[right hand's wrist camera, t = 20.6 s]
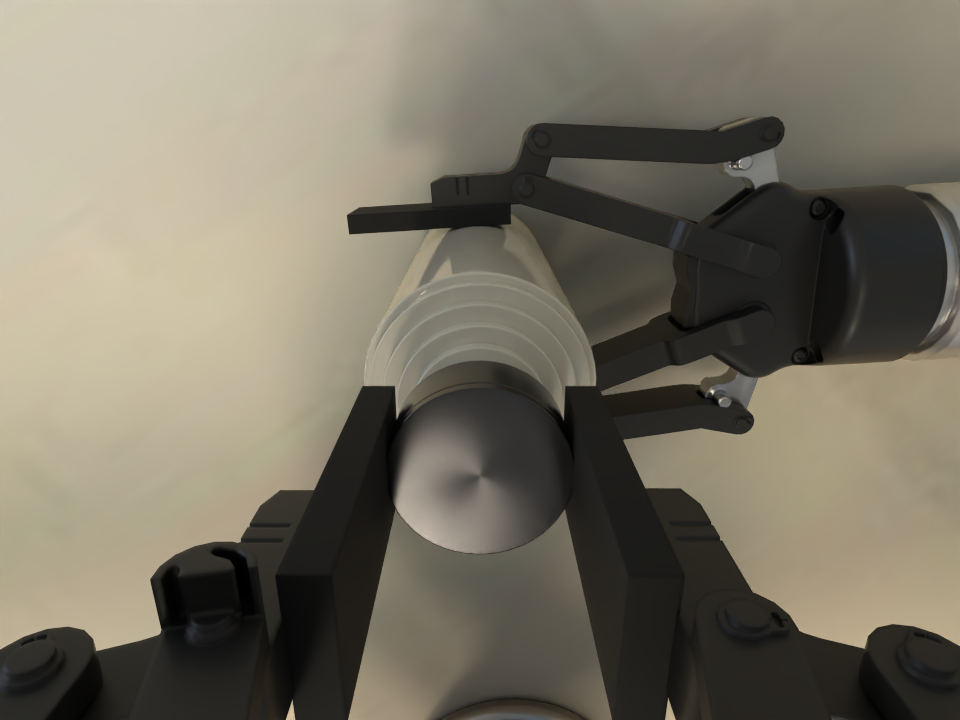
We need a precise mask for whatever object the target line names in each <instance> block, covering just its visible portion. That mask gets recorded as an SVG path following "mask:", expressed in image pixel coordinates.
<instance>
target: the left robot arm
mask: <svg viewBox="0 0 960 720" xmlns="http://www.w3.org/2000/svg"><path fill="white" fill-rule="evenodd" d="M784 129H785V128H784V125H783V122H782V121H781V120H780V119H779V118H776V117H773V116H772V117H753V118H742V119H738V120H735V121H732V122H729V123H726V124H723V125H720V126H717V127H714V128H711V129H708V130H704V131H703V130H681V129H659V128H638V127H616V126H594V125H572V124H550V123H541V124H535V125H531V126H530V127H528V128H527V129H526V131H525V132H524V135H523V140H522V143H521V146H520V150H519V153H518V156H517V159H516V161H515V163H514V164H513V166H512V167H510V168H509V169H508V170H506V171H502V172H492V173H476V174H460V175H445V176H442V177H440V178H438V179H436V180H434V181H433V182H432V183H431V194H432V203H424V204H408V205H391V206H375V207H359V208H358V209H356V210H355V211H353V212H351V213H350V214H348V215H347V220H348V228H349V234H362V233H378V232H395V231H411V230H427V229H444V228H460V227H473V226H493V225H509V224H511V207H510V204H523V205H526V206H529V207H533V208H536V209H539V210H543V211H546V212H549V213H553V214H556V215H559V216H563V217H566V218H569V219H573V220H576V221H579V222H583V223H586V224H590V225H593V226H596V227H600V228H603V229H606V230H610V231H613V232H616V233H620V234H623V235H626V236H630V237H633V238H636V239H640V240H643V241H646V242H650V243H653V244H656V245H660V246H663V247H666V248H669V249H671V250H674V253H673V267H674V271H675V276H676V280H677V282H676V286H675V289H674V292H673V295H672V298H671V311H670V312H667V313H665V314H662V315H660V316H657V317H655V318H653V319H652V320H650V322H649V323H648V324H647V325H645V326H642V327H640V328H637V329H635V330H632V331H630V332H627V333H624V334H622V335H619V336H617V337H614V338H612V339H609V340H607V341H604V342H602V343H599V344H597V345H594V346H591V349H592V353H593V357H594V361H595V368H596V386H598V388H599V390H600V391H603V390H605V389H608V388H611V387H613V386H616V385H619V384H621V383H624V382H626V381H629V380H632V379H634V378H637V377H639V376H642V375H645V374H647V373H650V372H653V371H655V370H658V369H660V368H663V367H666V366H669V365H678V366H679V365H684V364H688V363H690V362H693V361H696V360H698V359H701V358H703V357H706V356H709V355H713V356H714V357H716V358H717V359H719V360H720V361H722V362H723V363H725V364H726V365H728V366H729V367H730V368H729V370H728V371H727V372H726V373H725V374H723V375H721V376H717V377H706V378H704V379H702V381H701V385H693V384H682V385H672V386H665V387H659V388H652V389H645V390H639V391H632V392H625V393H619V394H612V395H605V396H603V398H604V401H605V403H606V405H607V407H608V409H609V411H610V414H611V416H612V418H613V420H614V422H615V424H616V426H617V429H618V431H619V433H620V435H621V437H622V439H623V440H624V439H631V438H638V437H644V436H651V435H658V434H665V433H672V432H679V431H685V430H692V429H699V428H703V429H709V430H715V431H720V432H726V433H732V434H744V433H746V432H748V431H749V430H750V429H751V428H752V426H753V424H754V418H753V415H752V414H751V413H750V412H749V411H748V410H747V406H748V404H749V401H750V398H751V396H752V393H753V390H754V388H755V385H756V382H757V379H758V378H760V377H765V376H767V375H770V374H771V373H773V372H775V371H777V370H779V369H781V368H784V367H787V366H791V365H836V364H853V363H871V362H887V361H894V360H898V359H900V358H903V359H908V360H913V361H914V360H929V359H944V358H959V357H960V182H948V183H930V184H912V185H910V186H907V187H905V188H903V187H899V186H891V185H887V186H871V187H855V188H839V189H823V190H807V191H800V190H797V189H795V188H793V187H791V186H790V185H788V184H785V183H782V182H779V177H778V170H777V162H776V155H775V148H774V147H776V146H777V145H778V144H779V143H780V142H781V141H782V139H783V136H784ZM551 157H565V158H587V159H610V160H632V161H654V162H676V163H699V164H715V166H716V169H717V170H718V172H719V173H721V174H722V175H725V176H730V177H740V178H741V179H743V181H744V182H745V185H746V187H745V188H744V189H743V190H741V191H740V192H739V193H737V194H736V195H735V196H733V197H732V198H731V199H729V200H728V201H727V202H725V203H724V204H723V205H721V206H720V207H719V208H718V209H716V210H715V211H714V212H712V213H711V214H710V215H708V216H707V217H706V218H704V219H703V220H702V221H700V222H695V221H692V220H689V219H685V218H682V217H679V216H676V215H672V214H669V213H666V212H661V211H658V210H655V209H651V208H648V207H645V206H642V205H638V204H635V203H632V202H628V201H625V200H622V199H619V198H615V197H612V196H609V195H606V194H602V193H599V192H596V191H592V190H589V189H586V188H583V187H579V186H576V185H573V184H569V183H566V182H563V181H560V180H556V179H553V178H550V177H547V176H546V173H547V169H548V166H549V163H550V160H551ZM441 720H584V719H582V718H581V717H579V716H577V715H576V714H574V713H572V712H570V711H568V710H565V709H563V708H560V707H558V706H554V705H551V704H547V703H543V702H538V701H531V700H519V699H506V700H495V701H488V702H483V703H479V704H475V705H472V706H468V707H465V708H463V709H460V710H458V711H456V712H454V713H452V714H450V715H448V716H446V717H445V718H443V719H441Z"/></svg>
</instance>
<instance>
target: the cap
mask: <svg viewBox="0 0 960 720" xmlns="http://www.w3.org/2000/svg"><path fill="white" fill-rule="evenodd" d="M386 459H387V477H388V493H389V496H390V498H391V501H392V503H393V505H394V507H395V509H396V510H397V512H398V514H399V515H400V516H401V518H402V519H403V520H404V521H405V523H406V524H407V525H408V526H409V527H410V528H411V529H413V530H414V531H415V532H416V533H417V534H419V535H420V536H421V537H423V538H425V539H426V540H428V541H430V542H431V543H433V544H436V545H438V546H440V547H443V548H446V549H449V550H452V551H456V552H461V553H468V554H492V553H499V552H504V551H508V550H512V549H514V548H517V547H520V546H522V545H524V544H526V543H528V542H530V541H532V540H534V539H535V538H537V537H538V536H540V535H541V534H543V533H544V532H545V531H546V530H547V529H549V528H550V527H551V526H552V525H553V524H554V522H555V521H556V520H557V519H558V518H559V516H560V515H561V513H562V512H563V510H564V509H565V507H566V505H567V503H568V501H569V499H570V496H571V493H572V484H573V467H574V455H573V452H572V448H571V445H570V441H569V438H568V435H567V431H566V428H565V424H564V421H563V417H562V414H561V411H560V409H559V407H558V405H557V403H556V401H555V400H554V398H553V397H552V395H551V394H550V393H549V391H548V390H547V389H546V388H545V387H544V386H543V385H542V384H541V383H540V382H539V381H538V380H536V379H535V378H534V377H532V376H531V375H529V374H528V373H526V372H524V371H522V370H520V369H518V368H516V367H513V366H510V365H507V364H504V363H499V362H494V361H483V360H482V361H467V362H461V363H457V364H453V365H450V366H447V367H445V368H442V369H440V370H438V371H436V372H434V373H433V374H431V375H429V376H428V377H426V378H425V379H424V380H423V381H421V382H420V383H419V384H418V385H417V386H416V387H415V388H414V389H413V390H412V391H411V393H410V394H409V395H408V397H407V398H406V399H405V401H404V403H403V405H402V407H401V409H400V411H399V414H398V417H397V420H396V424H395V427H394V431H393V434H392V437H391V441H390V445H389V448H388V451H387V458H386Z"/></svg>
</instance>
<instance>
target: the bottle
mask: <svg viewBox="0 0 960 720" xmlns="http://www.w3.org/2000/svg"><path fill="white" fill-rule="evenodd" d="M482 360H483V361H494V362H499V363H504V364H507V365H510V366H513V367H516V368H518V369H520V370H522V371H524V372H526V373H528V374H529V375H531V376H532V377H534V378H535V379H536V380H538V381H539V382H540V383H541V384H542V385H543V386H544V387H545V388H546V389H547V390H548V391H549V393H550V394H551V395H552V397H553V398H554V400H555V401H556V403H557V405H558V407H559V409H560V411H561V414H562V417H563V421H564V402H565V386H596V368H595V361H594V357H593V353H592V349H591V346H590V344H589V341H588V339H587V336H586V334H585V332H584V330H583V328H582V326H581V324H580V323H579V321H578V319H577V317H576V315H575V313H574V311H573V309H572V307H571V305H570V304H569V302H568V300H567V298H566V296H565V294H564V292H563V290H562V288H561V286H560V285H559V283H558V281H557V279H556V277H555V275H554V273H553V271H552V269H551V267H550V265H549V264H548V262H547V260H546V258H545V256H544V254H543V252H542V250H541V248H540V246H539V245H538V243H537V241H536V239H535V237H534V235H533V234H532V232H531V231H530V230H529V228H528V227H527V226H526V225H525V224H524V223H523V222H522V221H521V220H519V219H518V218H517V217H515V216H514V215H512V214H511V224H509V225H493V226H473V227H460V228H444V229H430V231H429V232H428V234H427V235H426V237H425V239H424V240H423V242H422V244H421V246H420V248H419V250H418V252H417V254H416V256H415V258H414V260H413V262H412V263H411V265H410V267H409V269H408V271H407V273H406V275H405V277H404V279H403V281H402V283H401V284H400V286H399V288H398V290H397V292H396V294H395V296H394V298H393V300H392V302H391V304H390V306H389V307H388V309H387V311H386V313H385V315H384V317H383V319H382V321H381V323H380V325H379V327H378V329H377V330H376V332H375V334H374V336H373V338H372V340H371V343H370V346H369V349H368V352H367V356H366V361H365V366H364V386H395V394H396V413H397V417H398V414H399V411H400V409H401V407H402V405H403V403H404V401H405V399H406V398H407V397H408V395H409V394H410V393H411V391H412V390H413V389H414V388H415V387H416V386H417V385H418V384H419V383H420V382H421V381H423V380H424V379H425V378H426V377H428V376H429V375H431V374H433V373H434V372H436V371H438V370H440V369H442V368H445V367H447V366H450V365H453V364H457V363H461V362H467V361H482Z"/></svg>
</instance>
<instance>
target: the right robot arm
mask: <svg viewBox="0 0 960 720" xmlns="http://www.w3.org/2000/svg"><path fill="white" fill-rule="evenodd" d="M396 420H397V413H396V394H395V386H362V388H361V391H360V393H359V395H358V397H357V399H356V401H355V404H354V406H353V408H352V410H351V412H350V414H349V417H348V419H347V421H346V423H345V425H344V427H343V430H342V432H341V434H340V436H339V438H338V440H337V443H336V445H335V447H334V449H333V451H332V453H331V456H330V458H329V460H328V462H327V464H326V466H325V468H324V471H323V473H322V475H321V477H320V479H319V481H318V484H317V486H316V488H315V490H280V491H279V492H278V493H276V494H275V495H274V496H272V497H271V498H270V499H269V500H267V501H266V502H265V503H263V504H262V505H261V506H260V507H259V509H258V511H257V512H256V514H255V516H254V517H253V519H252V521H251V523H250V527H248V528H247V529H246V531H245V533H244V534H243V536H242V538H241V543H235V542H212V543H208V544H203V545H199V546H194V547H192V548H190V549H188V550H185V551H183V552H181V553H179V554H176V555H175V556H173V557H172V558H171V559H169V560H168V561H167V562H165V563H164V564H162V565H161V566H160V567H159V568H158V570H157V571H156V572H155V574H154V575H153V576H152V578H151V579H150V581H151V586H152V590H153V594H154V599H155V603H156V608H157V612H158V616H159V621H160V625H161V629H162V630H161V633H160V634H159V635H157V636H154V637H151V638H148V639H145V640H141V641H138V642H133V643H129V644H125V645H121V646H117V647H112V648H108V649H104V650H100V651H96V648H95V644H94V641H93V638H92V637H91V636H90V635H89V634H88V633H87V632H85V631H84V630H81V629H76V628H72V627H62V628H52V629H46V630H43V631H40V632H37V633H34V634H31V635H28V636H25V637H23V638H21V639H19V640H17V641H15V642H13V643H12V644H10V645H8V646H6V647H4V648H2V649H1V650H0V720H286V717H287V714H288V711H289V708H290V705H291V702H292V699H293V706H294V713H295V720H348V718H349V713H350V709H351V704H352V700H353V695H354V691H355V687H356V682H357V678H358V673H359V669H360V664H361V660H362V655H363V651H364V646H365V642H366V638H367V633H368V629H369V624H370V620H371V615H372V611H373V606H374V602H375V597H376V593H377V589H378V584H379V580H380V575H381V571H382V566H383V562H384V557H385V553H386V548H387V544H388V540H389V535H390V531H391V526H392V522H393V517H394V513H395V507H394V505H393V503H392V501H391V498H390V496H389V493H388V477H387V459H386V458H387V451H388V448H389V445H390V441H391V437H392V434H393V431H394V427H395V424H396ZM564 424H565V428H566V431H567V435H568V438H569V441H570V445H571V448H572V452H573V455H574V467H573V484H572V493H571V496H570V499H569V501H568V503H567V505H566V507H565V511H566V516H567V520H568V524H569V529H570V533H571V538H572V542H573V547H574V551H575V556H576V560H577V564H578V569H579V573H580V578H581V582H582V587H583V591H584V596H585V600H586V605H587V609H588V613H589V618H590V622H591V627H592V631H593V636H594V640H595V645H596V649H597V654H598V658H599V662H600V667H601V671H602V676H603V680H604V685H605V689H606V694H607V698H608V703H609V707H610V711H611V716H612V720H665V716H666V709H667V702H668V698H669V701H670V704H671V707H672V710H673V713H674V716H675V719H676V720H960V646H958V645H957V644H955V643H953V642H951V641H949V640H947V639H945V638H943V637H942V636H940V635H938V634H935V633H932V632H929V631H926V630H923V629H920V628H917V627H914V626H904V625H895V624H892V625H887V626H882V627H878V628H876V629H875V630H874V631H873V632H872V633H871V634H870V635H869V636H868V639H867V642H866V646H865V649H863V648H859V647H855V646H850V645H846V644H842V643H838V642H834V641H829V640H825V639H821V638H818V637H814V636H811V635H808V634H805V633H802V632H800V631H799V629H798V628H797V626H796V625H795V623H794V622H793V620H792V618H791V617H790V615H789V614H787V613H786V612H785V611H784V610H783V609H781V608H780V607H779V606H778V605H777V604H776V603H774V602H772V601H770V600H768V599H766V598H764V597H762V596H760V595H758V594H756V593H753V592H752V590H751V589H750V587H749V585H748V583H747V582H746V580H745V578H744V577H743V575H742V573H741V572H740V570H739V568H738V567H737V565H736V563H735V562H734V560H733V558H732V556H731V555H730V553H729V551H728V550H727V548H726V546H725V545H724V543H723V541H720V536H719V535H718V533H717V531H716V529H715V528H714V526H713V525H711V521H710V519H709V518H708V516H707V514H706V513H705V511H704V509H703V507H702V506H701V504H700V503H699V502H697V501H696V500H695V499H693V498H692V497H691V496H689V495H688V494H687V493H686V492H684V491H683V490H682V489H661V488H645V487H644V485H643V483H642V480H641V478H640V476H639V474H638V472H637V470H636V468H635V465H634V463H633V461H632V459H631V457H630V455H629V452H628V450H627V448H626V446H625V444H624V442H623V439H622V437H621V435H620V433H619V431H618V429H617V426H616V424H615V422H614V420H613V418H612V416H611V414H610V411H609V409H608V407H607V405H606V403H605V401H604V398H603V396H602V394H601V392H600V390H599V388H598V386H565V402H564Z"/></svg>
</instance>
